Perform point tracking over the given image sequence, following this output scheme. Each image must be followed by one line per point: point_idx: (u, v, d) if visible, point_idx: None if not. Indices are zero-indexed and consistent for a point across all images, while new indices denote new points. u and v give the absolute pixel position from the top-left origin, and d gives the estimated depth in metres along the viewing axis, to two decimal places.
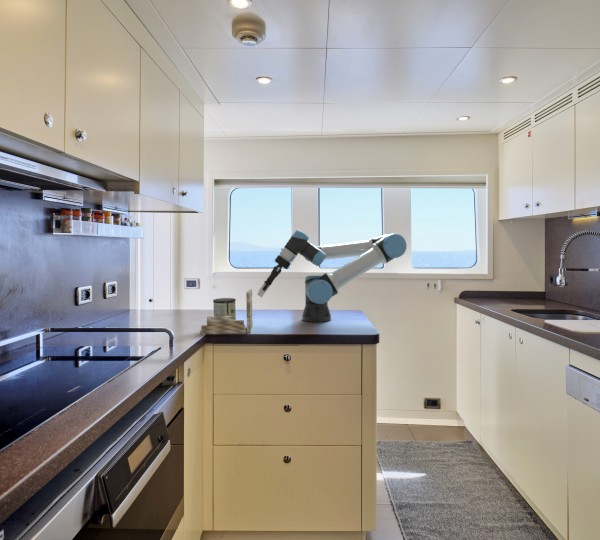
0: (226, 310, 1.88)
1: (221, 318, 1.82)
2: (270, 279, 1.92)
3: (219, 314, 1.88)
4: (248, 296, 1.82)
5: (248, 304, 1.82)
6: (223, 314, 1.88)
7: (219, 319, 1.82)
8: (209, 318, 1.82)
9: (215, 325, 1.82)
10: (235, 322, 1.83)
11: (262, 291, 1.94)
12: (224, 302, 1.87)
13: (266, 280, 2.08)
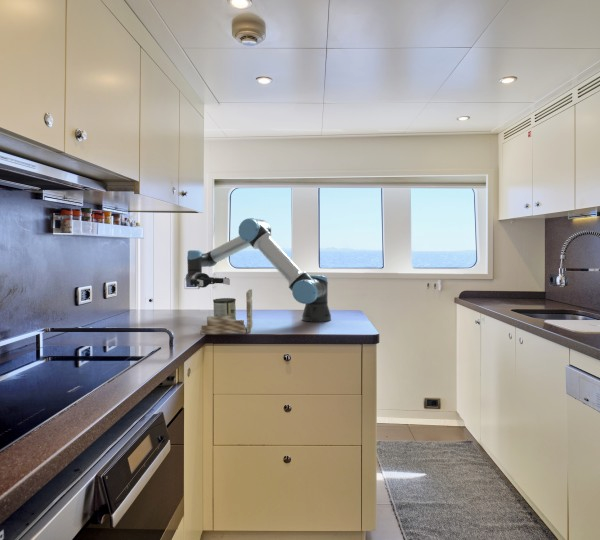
0: (226, 310, 1.88)
1: (221, 318, 1.82)
2: None
3: (219, 314, 1.88)
4: (248, 296, 1.82)
5: (248, 304, 1.82)
6: (223, 314, 1.88)
7: (219, 319, 1.82)
8: (209, 318, 1.82)
9: (215, 325, 1.82)
10: (235, 322, 1.83)
11: (199, 283, 1.98)
12: (224, 302, 1.87)
13: None
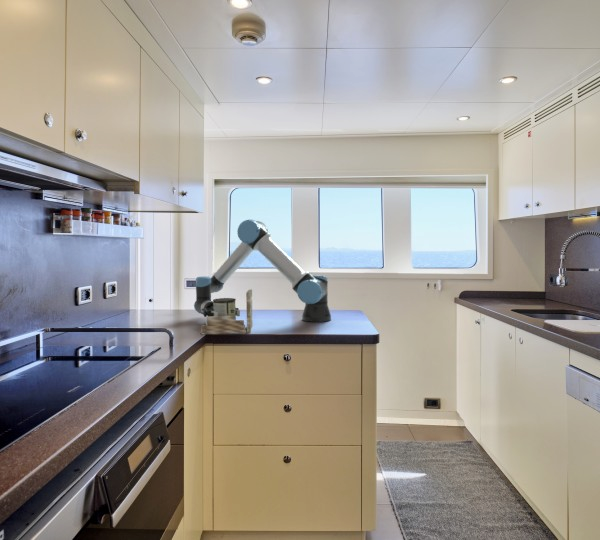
0: (226, 310, 1.88)
1: (221, 318, 1.82)
2: None
3: (219, 314, 1.88)
4: (248, 296, 1.82)
5: (248, 304, 1.82)
6: (223, 314, 1.88)
7: (219, 319, 1.82)
8: (209, 318, 1.82)
9: (215, 325, 1.82)
10: (235, 322, 1.83)
11: (214, 314, 1.88)
12: (224, 302, 1.87)
13: None
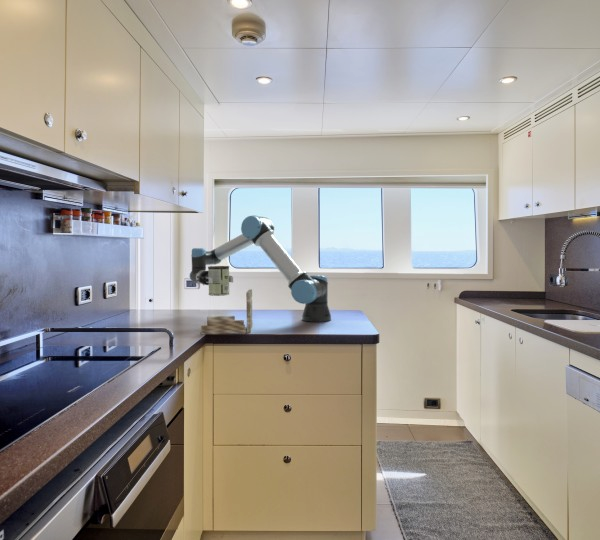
0: (220, 276, 2.00)
1: (221, 318, 1.82)
2: (199, 280, 2.04)
3: (213, 279, 2.00)
4: (248, 296, 1.82)
5: (248, 304, 1.82)
6: (217, 279, 1.99)
7: (219, 319, 1.82)
8: (209, 318, 1.82)
9: (215, 325, 1.82)
10: (235, 322, 1.83)
11: (209, 280, 2.00)
12: (218, 268, 1.99)
13: None
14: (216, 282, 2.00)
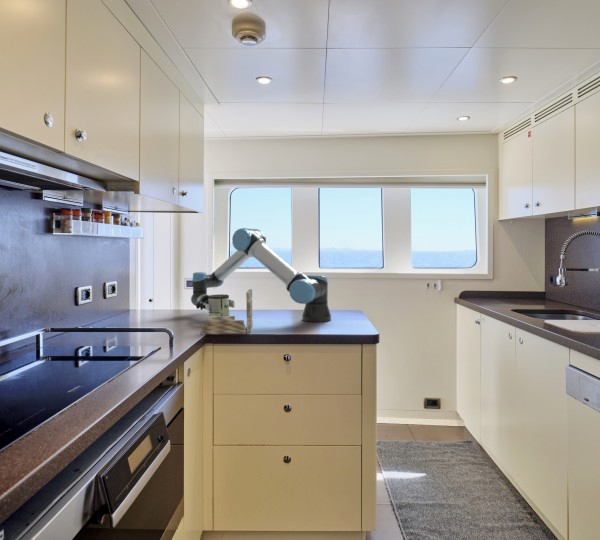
0: (220, 306, 2.04)
1: (221, 318, 1.82)
2: None
3: (213, 309, 2.04)
4: (248, 296, 1.82)
5: (248, 304, 1.82)
6: (217, 309, 2.04)
7: (219, 319, 1.82)
8: (209, 318, 1.82)
9: (215, 325, 1.82)
10: (235, 322, 1.83)
11: (205, 306, 2.04)
12: (218, 298, 2.04)
13: None
14: (216, 312, 2.04)
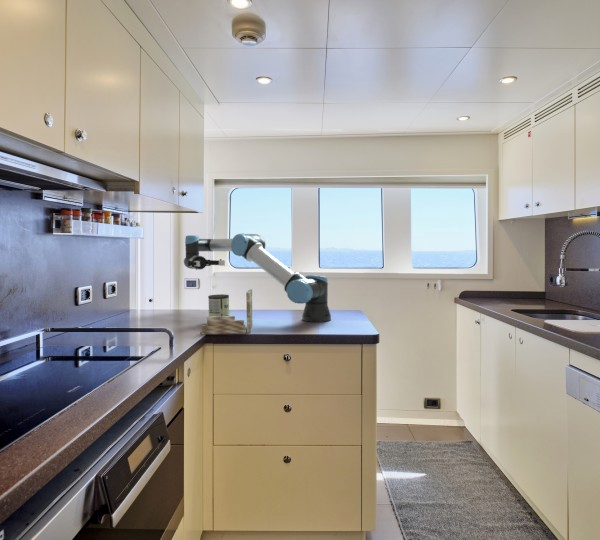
0: (220, 306, 2.04)
1: (221, 318, 1.82)
2: None
3: (213, 309, 2.04)
4: (248, 296, 1.82)
5: (248, 304, 1.82)
6: (217, 309, 2.04)
7: (219, 319, 1.82)
8: (209, 318, 1.82)
9: (215, 325, 1.82)
10: (235, 322, 1.83)
11: (196, 263, 2.14)
12: (218, 298, 2.04)
13: (220, 264, 2.25)
14: (216, 312, 2.04)
